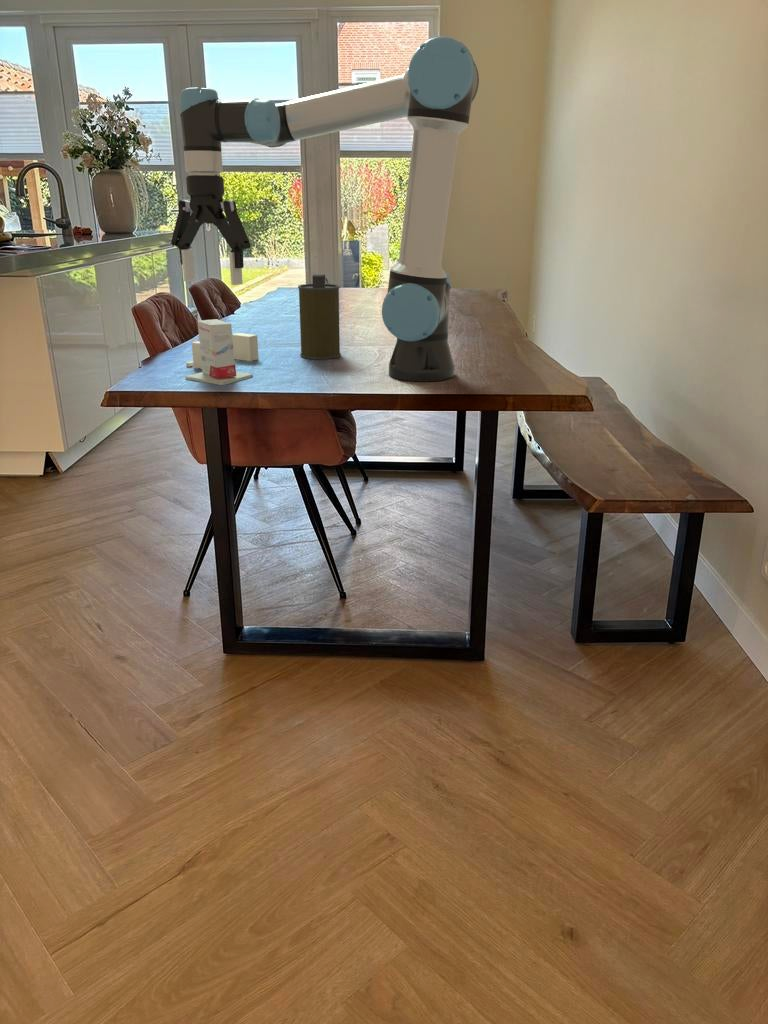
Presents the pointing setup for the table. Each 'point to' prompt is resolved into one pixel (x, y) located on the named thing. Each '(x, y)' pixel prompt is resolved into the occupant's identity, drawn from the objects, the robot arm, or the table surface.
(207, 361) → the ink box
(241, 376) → the mat
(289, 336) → the table surface
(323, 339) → the canister
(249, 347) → the holder
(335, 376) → the table surface
